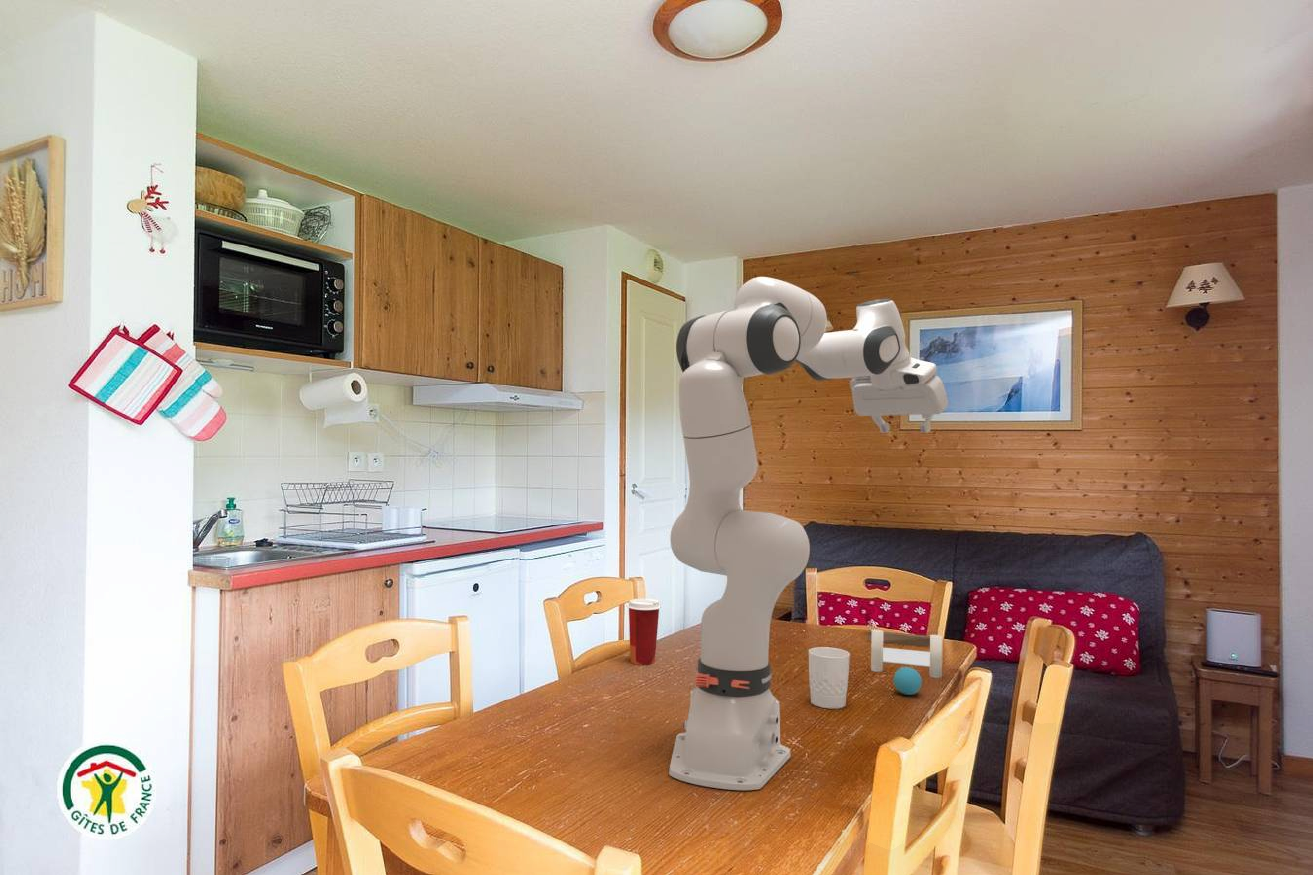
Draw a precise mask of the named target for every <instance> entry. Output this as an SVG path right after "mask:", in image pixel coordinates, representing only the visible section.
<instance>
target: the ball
mask: <svg viewBox="0 0 1313 875" xmlns="http://www.w3.org/2000/svg"><path fill="white" fill-rule="evenodd" d="M922 683H923V680H922V677H921V675H920V673H919V672H918V670H916V669H915V668H913V667H909V666H904V667H903V666H902V667H900V668H898V669H897V670H896V671H895V673H894V675H893V685H894V687H895V688H896V690H897V691H898V692H900V693H901V694H903V695H905V696H913V695H915V694H917V693H918V692H919V691H920V689H921V688H922Z"/></svg>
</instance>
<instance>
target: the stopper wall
mask: <svg viewBox="0 0 1313 875" xmlns="http://www.w3.org/2000/svg"><path fill="white" fill-rule="evenodd" d="M871 638H872V630H870V629H869V630H868V632H867V642H871ZM883 644H892V645H900V644H902V645H904V646H911V645H918V646H917V647H921V646H930V635H924V634H912V633H904V632H903V633H901V632H889V631H884V632H883Z"/></svg>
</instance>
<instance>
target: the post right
mask: <svg viewBox="0 0 1313 875" xmlns="http://www.w3.org/2000/svg"><path fill="white" fill-rule="evenodd" d="M929 636H930V647H929V652H930V667H929V673H928V674H929V677H930V678H932V677H933V679H942V677H943V635H939V634H930V635H929Z"/></svg>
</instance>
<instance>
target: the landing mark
mask: <svg viewBox="0 0 1313 875" xmlns="http://www.w3.org/2000/svg"><path fill="white" fill-rule="evenodd" d="M883 663H887V664H889V663H890V664H898V665H899V664H900V665H908V666H917V667H927V668H930V651H922V650H913V649H904V648H903V649H901V648H895V647H894V648H893V647H883Z"/></svg>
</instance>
